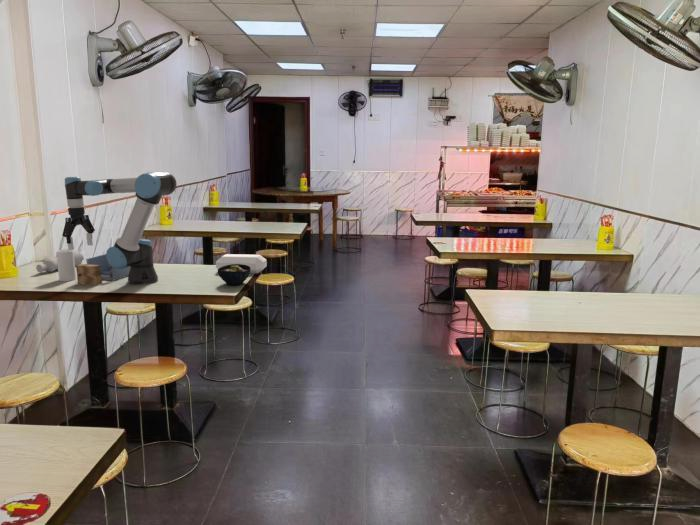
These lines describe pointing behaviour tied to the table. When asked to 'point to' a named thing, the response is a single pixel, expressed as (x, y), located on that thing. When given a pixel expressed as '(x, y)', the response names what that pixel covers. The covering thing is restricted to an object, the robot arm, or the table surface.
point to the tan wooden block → (89, 274)
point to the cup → (66, 265)
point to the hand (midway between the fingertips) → (80, 247)
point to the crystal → (243, 261)
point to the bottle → (52, 263)
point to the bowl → (234, 274)
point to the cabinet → (108, 268)
